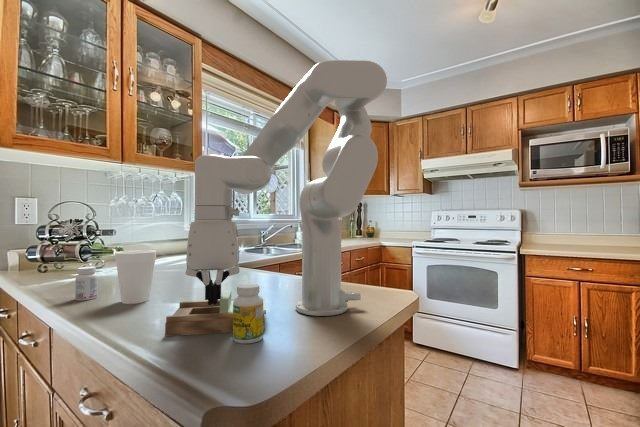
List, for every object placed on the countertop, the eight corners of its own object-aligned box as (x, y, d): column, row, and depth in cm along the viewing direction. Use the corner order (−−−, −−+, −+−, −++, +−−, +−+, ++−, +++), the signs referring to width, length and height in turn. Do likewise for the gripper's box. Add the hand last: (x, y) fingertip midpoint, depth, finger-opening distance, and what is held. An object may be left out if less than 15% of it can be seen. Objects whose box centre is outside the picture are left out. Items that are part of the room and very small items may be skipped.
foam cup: (108, 301, 82) (109, 252, 82) (144, 294, 89) (145, 249, 89) (125, 307, 76) (125, 254, 76) (162, 299, 84) (163, 251, 84)
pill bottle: (95, 295, 88) (95, 265, 88) (98, 298, 85) (99, 267, 85) (73, 298, 85) (74, 267, 85) (76, 301, 81) (77, 269, 82)
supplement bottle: (268, 335, 58) (269, 284, 58) (252, 346, 53) (252, 289, 53) (244, 331, 60) (244, 281, 60) (226, 341, 55) (226, 287, 55)
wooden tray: (262, 312, 73) (263, 297, 73) (264, 329, 61) (264, 312, 61) (180, 316, 69) (180, 301, 69) (165, 336, 57) (165, 317, 57)
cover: (264, 302, 71) (264, 288, 71) (266, 314, 62) (266, 298, 63) (224, 304, 69) (224, 290, 70) (219, 316, 61) (219, 300, 61)
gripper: (250, 215, 70) (250, 296, 70) (179, 215, 67) (179, 300, 67) (249, 215, 63) (249, 306, 63) (170, 214, 60) (169, 310, 60)
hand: (213, 302), depth 65 cm, fingers closed
